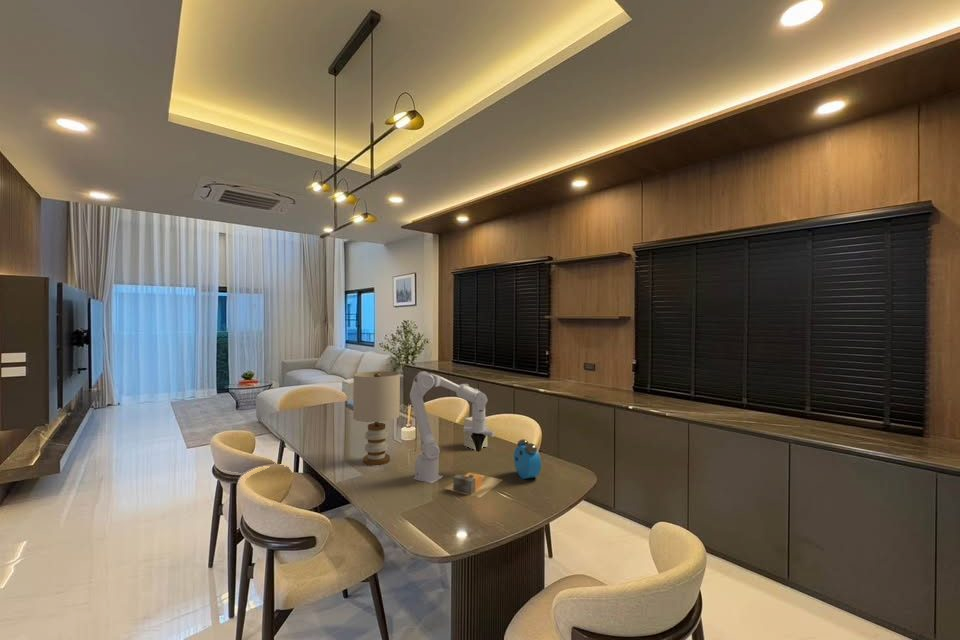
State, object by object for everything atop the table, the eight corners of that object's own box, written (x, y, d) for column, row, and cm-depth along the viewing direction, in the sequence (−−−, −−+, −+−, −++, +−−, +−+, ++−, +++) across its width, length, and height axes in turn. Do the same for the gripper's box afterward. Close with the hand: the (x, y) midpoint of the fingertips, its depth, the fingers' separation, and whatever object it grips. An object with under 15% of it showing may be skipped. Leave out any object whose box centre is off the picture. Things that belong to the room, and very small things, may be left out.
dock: (444, 489, 151) (444, 475, 152) (469, 473, 168) (469, 460, 168) (479, 498, 144) (479, 484, 144) (502, 480, 160) (502, 467, 160)
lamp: (372, 473, 167) (372, 377, 168) (343, 462, 180) (344, 373, 180) (408, 459, 184) (409, 372, 185) (380, 450, 197) (380, 369, 197)
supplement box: (477, 443, 210) (477, 415, 211) (487, 447, 204) (488, 418, 204) (463, 446, 205) (463, 417, 205) (474, 450, 198) (474, 421, 198)
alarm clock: (541, 482, 159) (541, 445, 159) (528, 484, 157) (528, 446, 157) (525, 470, 171) (525, 436, 171) (513, 472, 169) (513, 438, 169)
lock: (460, 488, 152) (460, 476, 152) (468, 482, 157) (468, 471, 157) (474, 491, 149) (474, 479, 149) (481, 485, 154) (481, 474, 154)
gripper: (497, 419, 169) (497, 451, 169) (469, 415, 176) (469, 445, 176) (490, 423, 163) (490, 455, 162) (460, 418, 170) (460, 450, 170)
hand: (478, 450), depth 169 cm, fingers closed
